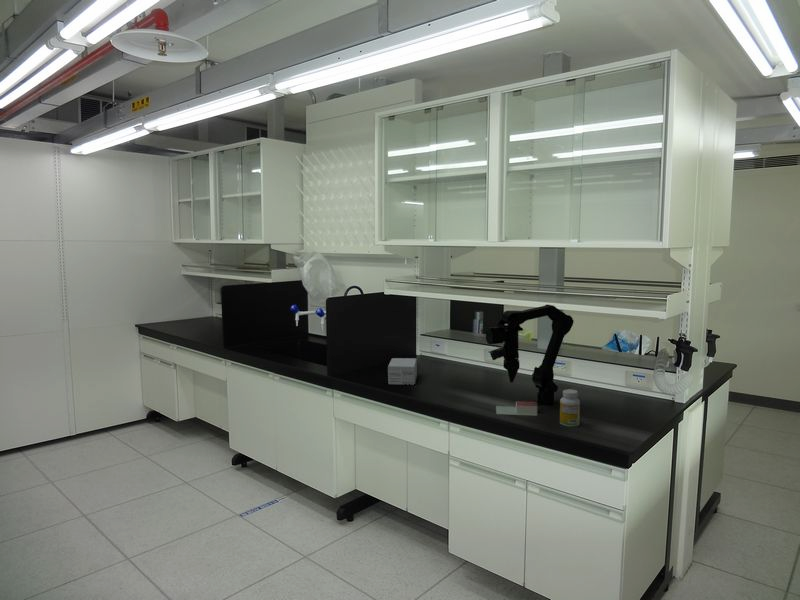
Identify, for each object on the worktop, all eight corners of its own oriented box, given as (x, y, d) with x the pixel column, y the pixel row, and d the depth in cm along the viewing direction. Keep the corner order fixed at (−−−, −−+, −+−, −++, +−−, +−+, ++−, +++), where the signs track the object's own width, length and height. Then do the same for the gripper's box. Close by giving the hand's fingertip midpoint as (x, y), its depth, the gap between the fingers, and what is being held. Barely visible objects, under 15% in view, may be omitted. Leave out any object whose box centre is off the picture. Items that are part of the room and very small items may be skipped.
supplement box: (391, 375, 274) (391, 357, 273) (417, 376, 273) (417, 358, 272) (387, 384, 258) (387, 365, 256) (414, 385, 256) (414, 366, 255)
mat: (535, 408, 218) (535, 407, 218) (537, 416, 209) (537, 415, 209) (495, 407, 221) (495, 406, 221) (496, 415, 211) (496, 413, 211)
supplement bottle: (565, 419, 205) (566, 387, 204) (583, 424, 200) (583, 391, 198) (556, 424, 200) (556, 391, 199) (573, 429, 195) (574, 395, 193)
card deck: (535, 409, 216) (536, 401, 216) (537, 413, 211) (537, 406, 210) (515, 408, 217) (515, 401, 217) (516, 412, 212) (516, 405, 212)
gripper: (491, 337, 226) (492, 372, 228) (490, 346, 208) (490, 385, 210) (518, 337, 224) (518, 373, 226) (519, 346, 206) (519, 386, 208)
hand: (511, 379), depth 217 cm, fingers open, 9 cm apart
